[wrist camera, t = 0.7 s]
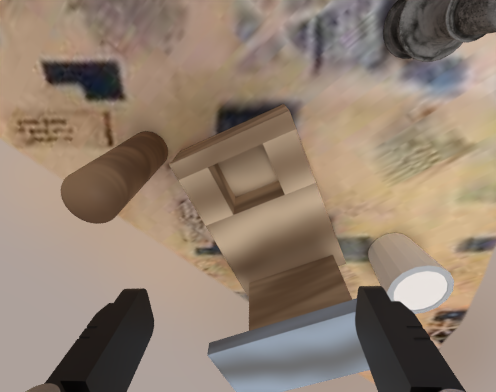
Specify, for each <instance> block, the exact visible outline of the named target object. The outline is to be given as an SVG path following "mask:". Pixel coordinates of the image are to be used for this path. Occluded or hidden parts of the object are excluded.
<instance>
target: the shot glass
mask: <svg viewBox="0 0 496 392" xmlns="http://www.w3.org/2000/svg"><path fill="white" fill-rule="evenodd" d="M368 258H369V261H370V263H371V265H372V267H373V270H374V272H375V274H376V276H377V278H378V281H379V283H380V285H381V286H382V287H383V288H384V290H385V291H386V293H387V295H388V296H389V298H390V300H391V301H400V302H401V303H403V304H404V305H405V306H406V307H407V308H409V309H410V310H411V311H412V312H413V313H414V314H417V313H424V312H427V311H429V310H432V309H434V308H437V307H438V306H439V305H441V304H442V303H443V302H445V301H446V300H447V299H448V297H449V296H450V294H451V293H452V291H453V286H454V280H453V278H452V276H451V274H450V272H448V271H447V270H446V269H445V268H444V267H443V266H441V265H440V264H439V263H438V262H437V261H436V260H434V259H433V258H432V257H431V256H430V255H429V254H427V253H426V252H425V251H424V250H423V249H422V248H420V247H419V246H418V245H417V244H416V243H415V242H413V241H412V240H411V239H410V238H409V237H407V236H405V235H404V234H400V233H390V234H385V235H383V236H381V237H379V238H377V239H376V240H375V241H374V242H373V243H372V244H371V246H370V248H369V251H368Z"/></svg>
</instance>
